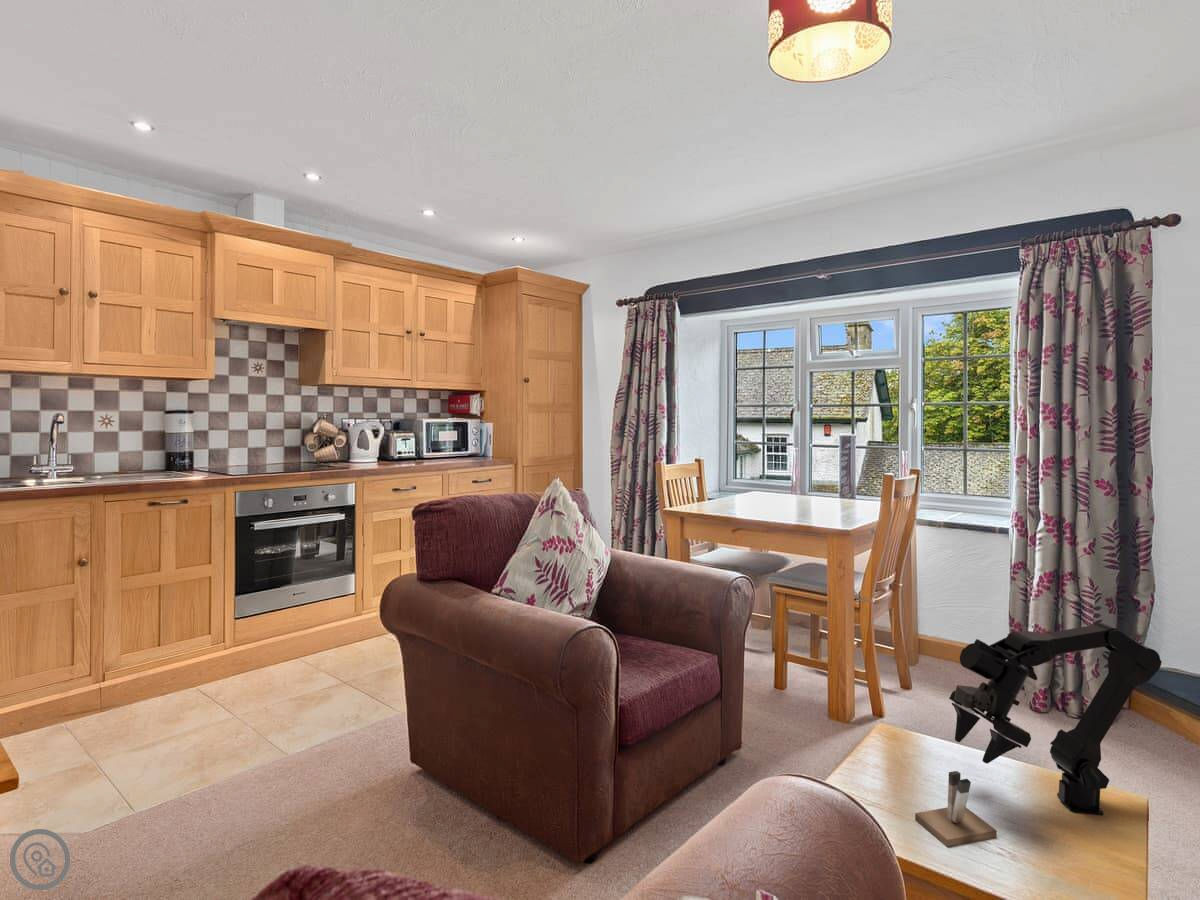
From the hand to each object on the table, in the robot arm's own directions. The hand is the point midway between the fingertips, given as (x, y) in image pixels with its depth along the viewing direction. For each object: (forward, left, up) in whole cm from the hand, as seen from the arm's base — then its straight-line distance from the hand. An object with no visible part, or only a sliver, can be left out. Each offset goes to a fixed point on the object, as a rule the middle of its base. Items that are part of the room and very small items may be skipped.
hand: (970, 751), depth 144 cm
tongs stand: (+5, +8, -13) cm, 16 cm away
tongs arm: (+5, +8, -11) cm, 14 cm away
